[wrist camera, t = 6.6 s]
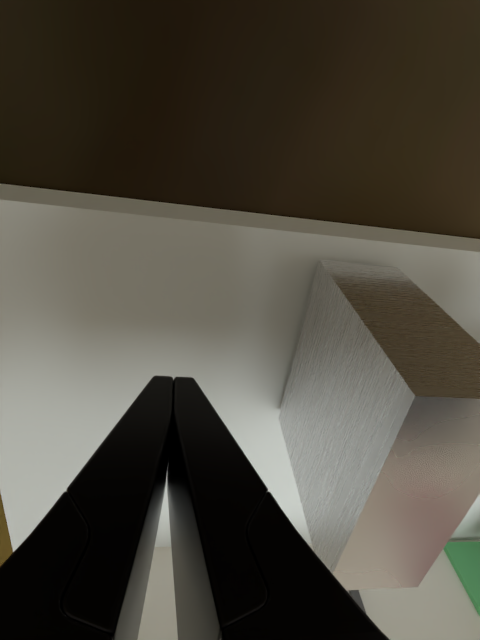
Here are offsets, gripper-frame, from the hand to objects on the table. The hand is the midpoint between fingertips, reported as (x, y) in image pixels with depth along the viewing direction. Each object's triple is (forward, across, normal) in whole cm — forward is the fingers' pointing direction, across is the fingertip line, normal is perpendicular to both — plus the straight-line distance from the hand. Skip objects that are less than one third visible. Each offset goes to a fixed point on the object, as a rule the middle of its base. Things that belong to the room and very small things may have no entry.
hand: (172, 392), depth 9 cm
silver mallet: (+2, -9, +3) cm, 10 cm away
